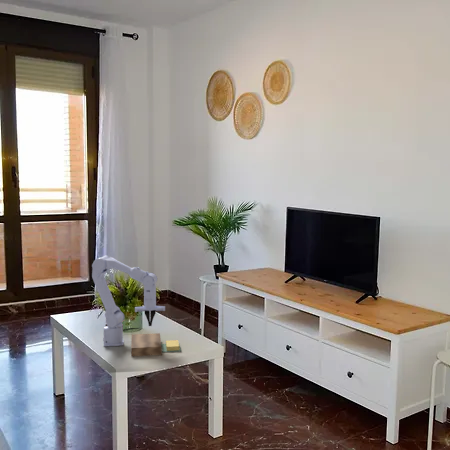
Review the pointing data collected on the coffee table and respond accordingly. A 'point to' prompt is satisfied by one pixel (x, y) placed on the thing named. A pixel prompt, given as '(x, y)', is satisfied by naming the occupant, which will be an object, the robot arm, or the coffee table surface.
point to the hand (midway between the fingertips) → (150, 325)
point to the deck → (146, 344)
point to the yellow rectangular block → (172, 345)
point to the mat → (169, 351)
